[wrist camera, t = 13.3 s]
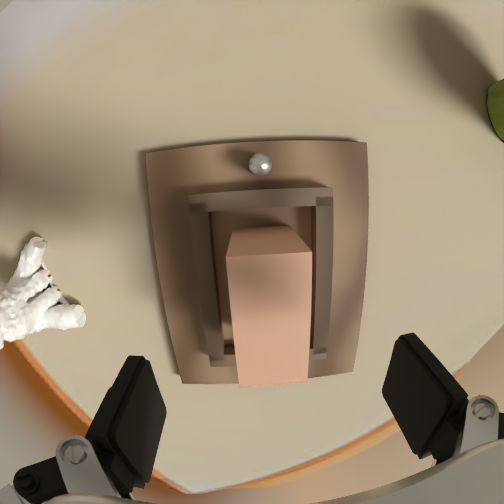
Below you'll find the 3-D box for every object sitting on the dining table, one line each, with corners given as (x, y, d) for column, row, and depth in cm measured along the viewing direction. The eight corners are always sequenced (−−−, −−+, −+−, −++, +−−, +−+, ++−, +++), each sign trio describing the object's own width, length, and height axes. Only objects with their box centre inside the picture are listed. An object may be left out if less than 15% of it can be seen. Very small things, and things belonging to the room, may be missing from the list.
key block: (233, 228, 20) (225, 257, 13) (289, 225, 20) (312, 251, 13) (241, 328, 22) (239, 387, 15) (291, 325, 22) (307, 382, 15)
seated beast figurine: (93, 317, 23) (22, 397, 11) (49, 342, 24) (-10, 406, 12) (43, 231, 20) (-52, 272, 9) (6, 270, 21) (-67, 313, 10)
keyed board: (184, 376, 24) (178, 397, 21) (150, 154, 19) (135, 151, 16) (349, 365, 24) (359, 384, 21) (361, 143, 19) (378, 139, 16)
